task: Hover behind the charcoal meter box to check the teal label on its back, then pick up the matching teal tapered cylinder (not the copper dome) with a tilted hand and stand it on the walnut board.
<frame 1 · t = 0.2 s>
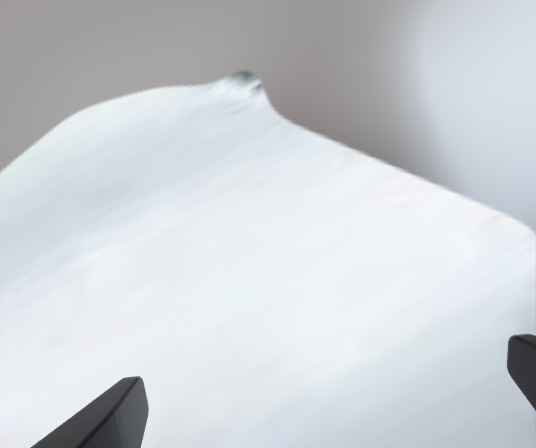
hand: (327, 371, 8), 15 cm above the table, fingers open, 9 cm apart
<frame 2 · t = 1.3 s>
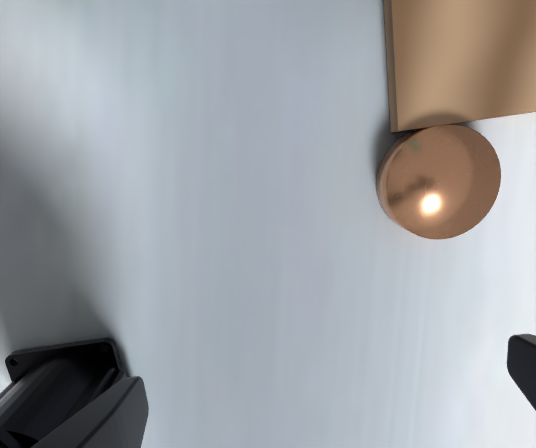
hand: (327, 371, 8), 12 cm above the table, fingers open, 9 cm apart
copper dome: (425, 180, 20), on the table
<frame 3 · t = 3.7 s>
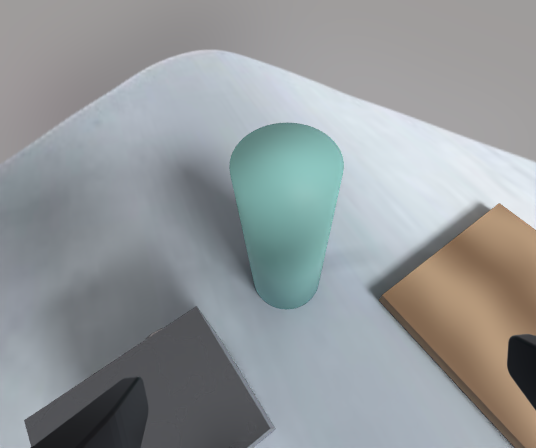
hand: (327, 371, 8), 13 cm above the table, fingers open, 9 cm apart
board: (514, 319, 22), on the table
meter box: (188, 426, 19), on the table
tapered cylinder: (286, 277, 24), on the table
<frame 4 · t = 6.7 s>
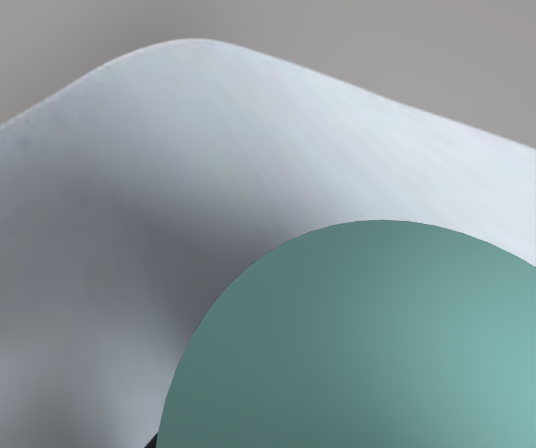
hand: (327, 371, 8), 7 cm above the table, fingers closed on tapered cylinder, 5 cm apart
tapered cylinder: (316, 436, 13), on the table, touching gripper
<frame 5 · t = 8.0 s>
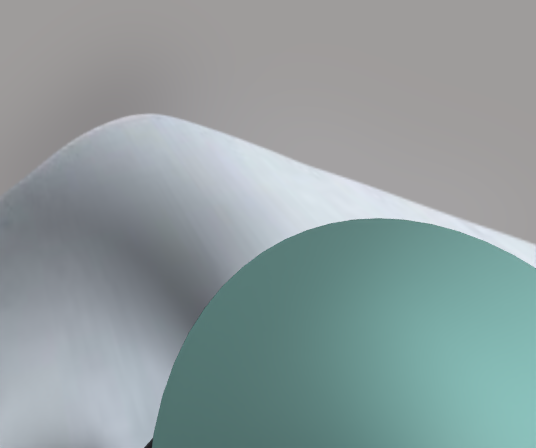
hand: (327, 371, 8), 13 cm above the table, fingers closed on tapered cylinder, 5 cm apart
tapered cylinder: (315, 435, 13), point 7 cm above the table, touching gripper
when the fingers open (9 cm above the table, at t = 9.8 s): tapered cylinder drops 1 cm, resting on board.
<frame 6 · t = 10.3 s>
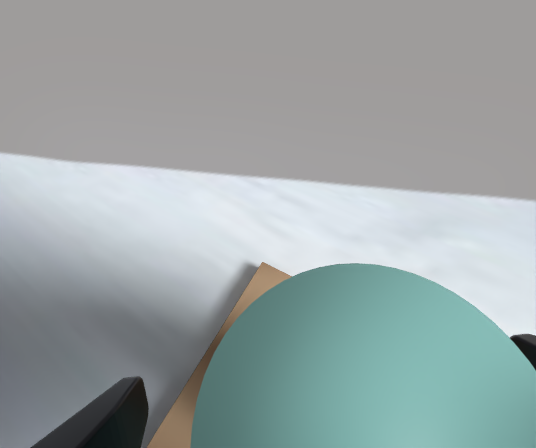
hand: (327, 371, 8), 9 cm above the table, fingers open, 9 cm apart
board: (312, 435, 15), on the table
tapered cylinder: (314, 437, 14), point 1 cm above the table, touching board
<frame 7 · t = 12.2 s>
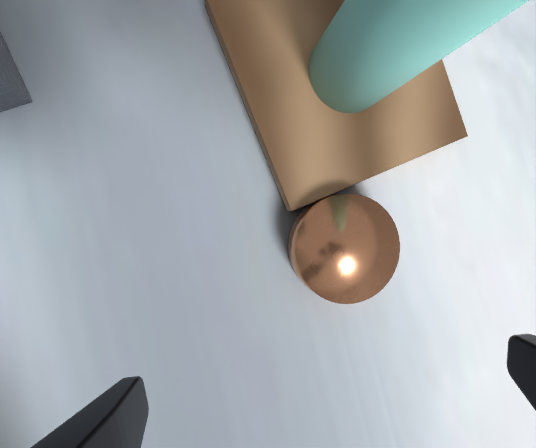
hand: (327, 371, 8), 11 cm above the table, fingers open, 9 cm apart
copper dome: (335, 245, 20), on the table
board: (340, 78, 20), on the table
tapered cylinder: (347, 72, 19), point 1 cm above the table, touching board
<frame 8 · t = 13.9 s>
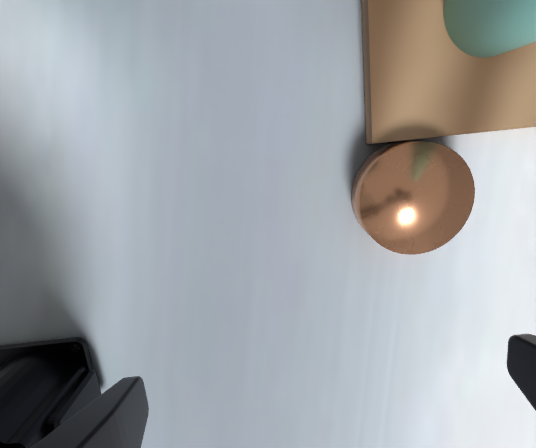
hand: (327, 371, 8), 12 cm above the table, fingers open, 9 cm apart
copper dome: (402, 193, 20), on the table
board: (477, 13, 18), on the table
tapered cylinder: (490, 6, 17), point 1 cm above the table, touching board
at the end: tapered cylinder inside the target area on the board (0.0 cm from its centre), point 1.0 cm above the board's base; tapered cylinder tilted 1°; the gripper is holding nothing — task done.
